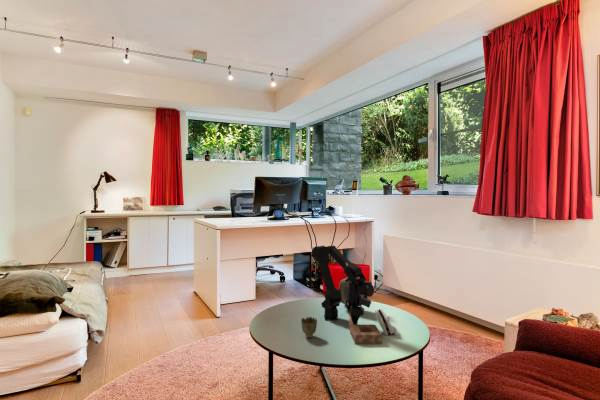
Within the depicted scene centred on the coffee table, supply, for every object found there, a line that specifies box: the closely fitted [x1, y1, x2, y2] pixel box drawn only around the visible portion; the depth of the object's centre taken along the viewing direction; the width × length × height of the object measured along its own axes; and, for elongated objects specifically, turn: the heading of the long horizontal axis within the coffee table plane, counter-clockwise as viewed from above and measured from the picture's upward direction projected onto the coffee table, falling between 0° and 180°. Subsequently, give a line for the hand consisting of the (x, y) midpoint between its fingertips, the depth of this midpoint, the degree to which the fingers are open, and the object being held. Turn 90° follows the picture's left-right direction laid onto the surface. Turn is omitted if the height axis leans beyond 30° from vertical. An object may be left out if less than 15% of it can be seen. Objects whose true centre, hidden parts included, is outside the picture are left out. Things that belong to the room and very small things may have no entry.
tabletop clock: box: [338, 277, 365, 311], centre depth 195 cm, size 14×9×25 cm, turn 58°
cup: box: [300, 316, 318, 339], centre depth 159 cm, size 8×7×8 cm
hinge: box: [374, 308, 397, 336], centre depth 170 cm, size 17×5×10 cm, turn 179°
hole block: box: [349, 324, 383, 345], centre depth 158 cm, size 12×12×4 cm
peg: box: [349, 316, 359, 328], centre depth 171 cm, size 4×4×8 cm
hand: (353, 322), depth 171 cm, fingers open, 8 cm apart
